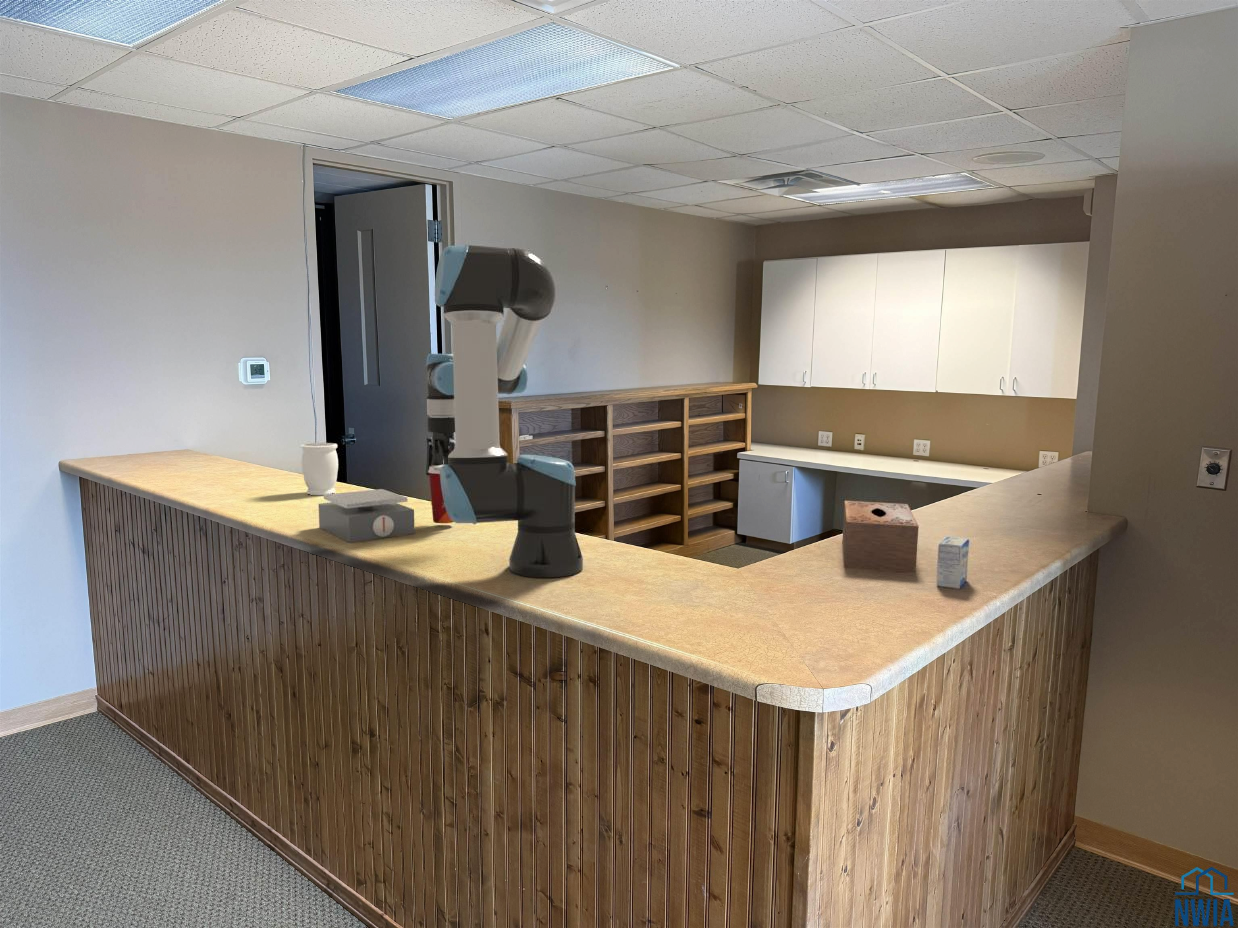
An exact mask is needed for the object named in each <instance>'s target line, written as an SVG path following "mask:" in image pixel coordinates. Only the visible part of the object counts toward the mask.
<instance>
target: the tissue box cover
mask: <svg viewBox="0 0 1238 928" xmlns="http://www.w3.org/2000/svg"><path fill="white" fill-rule="evenodd" d="M842 522H843V523H842V525H843V526H842V553H843V554H842V557H843V567H844V568H852V569H853V568H854V569H855V568H857V569H867V570H880V571H897V572H906V573H907V572H909V573H916V571H917V558H918V557H917V556H918V542H919V525H918V522H917V520H916V518H915V516H914V514H913V512H912V510H911V508H910V506H909V503H897V502H896V503H895V502H893V503H892V502H876V501H875V502H873V501H872V502H871V501H860V500H859V501H857V500H856V501H855V500H844V505H843V521H842Z"/></svg>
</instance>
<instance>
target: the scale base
mask: <svg viewBox="0 0 1238 928" xmlns="http://www.w3.org/2000/svg"><path fill="white" fill-rule="evenodd" d="M318 525H319V526H318V527H319V528H320V529H322V530H323V531H326V532H327V533H329V534H332V535H334V536H336V537H337V538H340V540H343V541H346V542H348V543H350V544H351V543H356V542H357V543H358V542H364V541H365V542H366V541H372V540H380V539H387V538H394V537H402V536H408V535H416V534H415V533H416V532H415V509H414V508H411V507H408V506H405V505H402V504H400V503H392V504H383V505H374V506H368V507H356V508H344V507H342V506H340V505H337V504H335V503H333V502H330V501H329V502H323V503H318Z"/></svg>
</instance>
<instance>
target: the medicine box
mask: <svg viewBox="0 0 1238 928" xmlns="http://www.w3.org/2000/svg"><path fill="white" fill-rule="evenodd" d="M969 547H970V539H969V538H965V537H964V538H963V537H958V536H946V537H945V538H944V539H943V540H942V541H941V542H940V543H939V544H938V547H937V566H936V582H935V583H936V586H937V587H942V588H949V589H956V590H960V589H961V587H962V586H964V583H965V582H966V581H967V580H968V564H969V563H968V562H969V551H970V550H969Z"/></svg>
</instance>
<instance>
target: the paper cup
mask: <svg viewBox="0 0 1238 928" xmlns="http://www.w3.org/2000/svg"><path fill="white" fill-rule="evenodd" d="M444 465H445V464H442V465H433V466H430V468H429V471H428V472H429V476H428V477H430V478H429V487H430V501H431V502H432V505H431V513H432V522H433V523H435V524H452V523H453V524H454V522H453V521H452V520H451V519H450V517H449V516H448V513H447V511H446V507H445V504H444V499H443V495H442V489H441V481H440V477H441V476H440V469H441V467H442V466H444ZM431 502H430V503H431Z"/></svg>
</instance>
